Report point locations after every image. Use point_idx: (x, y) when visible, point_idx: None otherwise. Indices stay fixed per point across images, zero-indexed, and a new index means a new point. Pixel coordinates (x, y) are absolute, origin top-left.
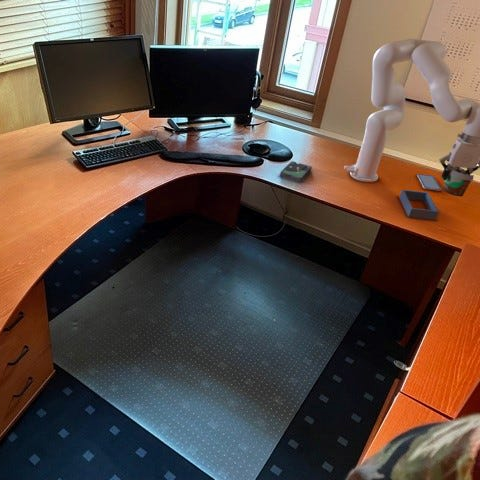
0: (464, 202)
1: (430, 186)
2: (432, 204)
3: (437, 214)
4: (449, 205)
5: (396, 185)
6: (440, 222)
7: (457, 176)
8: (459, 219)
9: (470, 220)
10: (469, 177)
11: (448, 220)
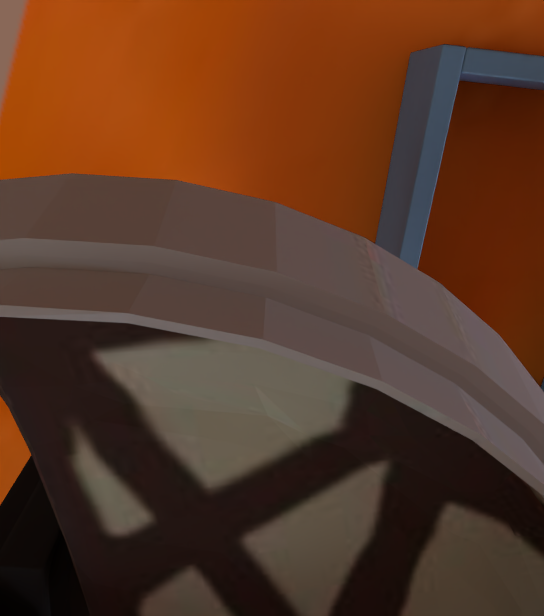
0: (7, 422)
1: None
2: (424, 231)
3: (436, 48)
4: None
5: None
6: (376, 11)
7: (513, 368)
8: (149, 109)
9: (41, 104)
10: (115, 236)
11: (272, 70)
